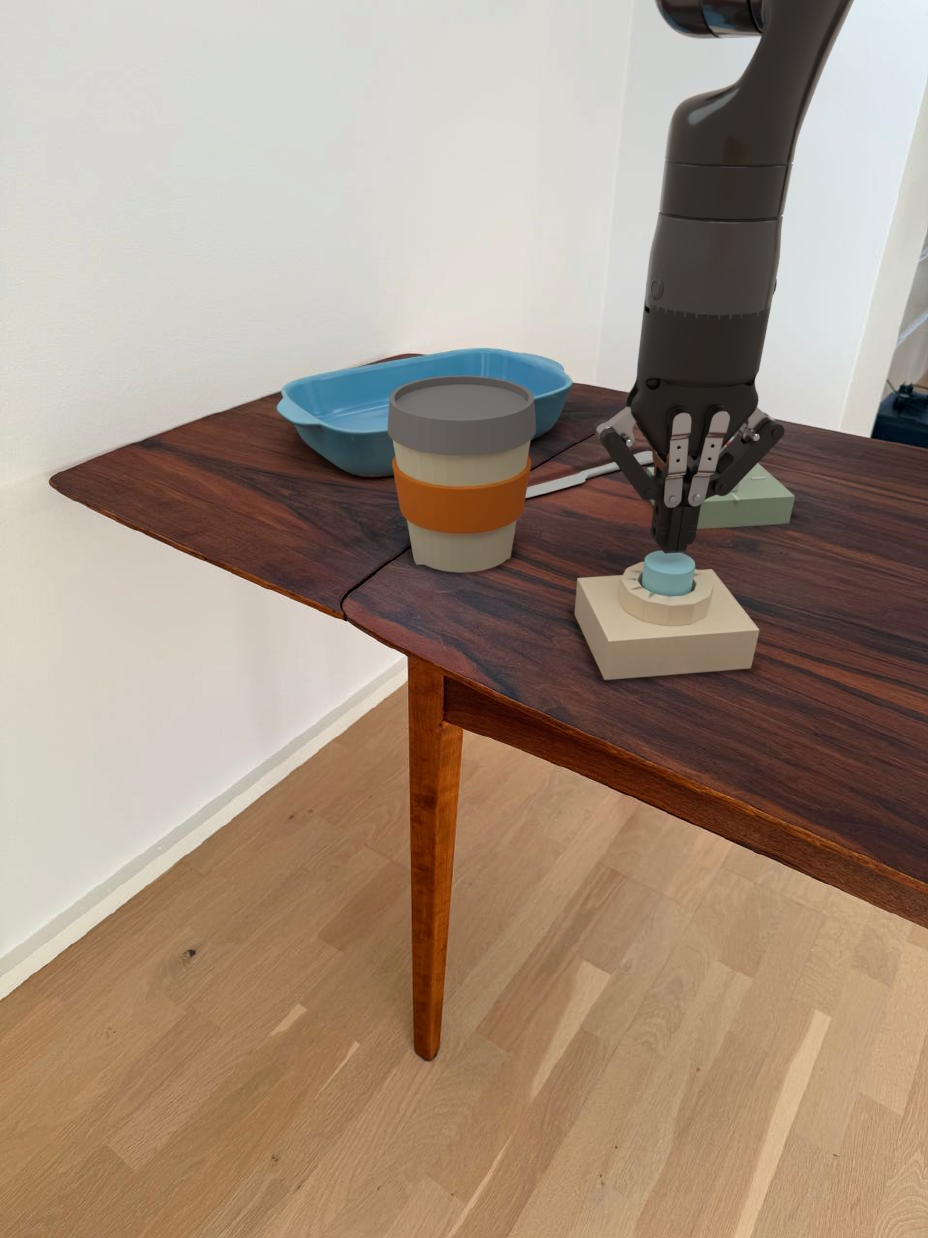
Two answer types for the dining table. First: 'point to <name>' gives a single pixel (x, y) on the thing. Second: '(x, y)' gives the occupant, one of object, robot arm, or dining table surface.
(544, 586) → the dining table surface
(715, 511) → the panel
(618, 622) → the beige button housing
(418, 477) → the reusable coffee cup
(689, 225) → the robot arm
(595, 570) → the dining table surface
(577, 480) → the butter knife
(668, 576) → the light blue puck
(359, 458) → the casserole dish
